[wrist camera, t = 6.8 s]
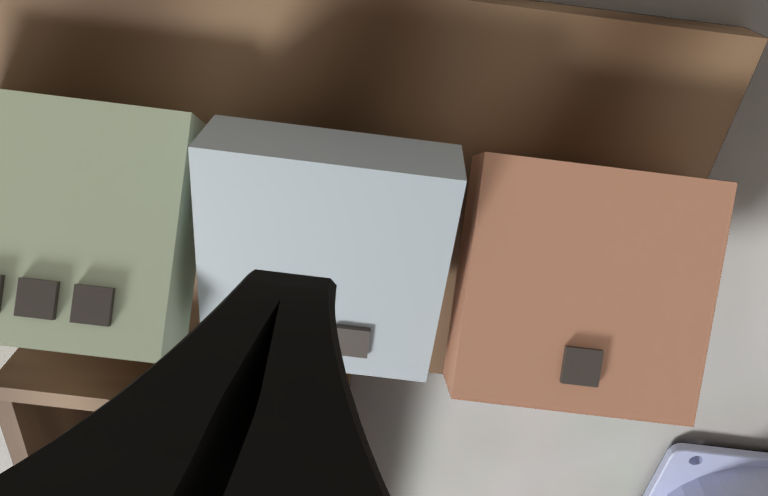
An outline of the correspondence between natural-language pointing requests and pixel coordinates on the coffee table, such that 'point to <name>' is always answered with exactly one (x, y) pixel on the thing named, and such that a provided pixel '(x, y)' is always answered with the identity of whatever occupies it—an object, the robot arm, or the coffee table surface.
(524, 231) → the tile
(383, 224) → the tile
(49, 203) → the tile
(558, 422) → the coffee table surface
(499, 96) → the board
